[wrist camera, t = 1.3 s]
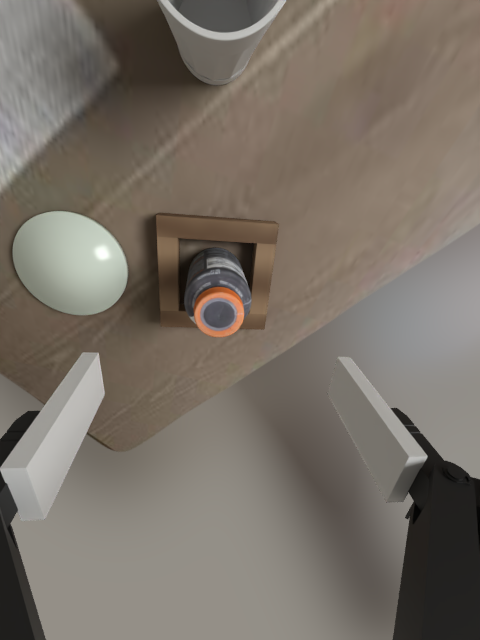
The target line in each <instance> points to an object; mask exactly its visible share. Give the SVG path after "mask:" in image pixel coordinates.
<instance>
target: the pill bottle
mask: <svg viewBox="0 0 480 640" xmlns="http://www.w3.org/2000/svg"><path fill="white" fill-rule="evenodd" d="M251 301H252V300H251V292H250V289H249V286H248V284H247V281H246V278H245V276H244V273H243V270H242V268H241V265H240V263H239V261H238V259H237V258H236V257H235V256H234V255H233V254H232V253H231V252H229V251H227V250H225V249H222V248H209V249H206V250H203V251H202V252H200V253H199V254H197V255H196V256H195V258H194V259H193V260H192V262H191V264H190V268H189V272H188V279H187V284H186V290H185V295H184V305H185V310H186V312H187V314H188V316H189V317H190V319H191V320H192V321H193V322H194V323H195V324H196V325H197V326H198V328H199V329H200V330H201V331H202V332H203V333H205V334H207V335H209V336H212V337H225V336H228V335H231V334H233V333H234V332H235V331H237V330H238V329H239V327H240V326H241V324H242V323H243V320H244V319H245V318H246V316H247V315H248V313H249V311H250V307H251Z"/></svg>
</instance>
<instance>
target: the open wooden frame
mask: <svg viewBox="0 0 480 640" xmlns="http://www.w3.org/2000/svg"><path fill="white" fill-rule="evenodd" d="M156 227H157V251H158V274H159V297H160V321H161V327H195V328H198V326H197V325H196V324H195V323H194V322H193V321H192V320H191V319H190V317H189V316H188V314H187V312H186V310H185V305H184V304H180V238H185V239H200V240H215V241H230V242H245V243H254V248H253V257H252V267H251V276H250V286H249V289H250V292H251V300H252V301H251V307H250V311H249V313H248V315H247V316H246V318H245V319H244V320H243V323H242V324H241V326H240V327H239V329H264V328H265V321H266V314H267V307H268V300H269V292H270V285H271V278H272V271H273V264H274V257H275V249H276V242H277V235H278V228H279V224H278V223H276V222H274V221H261V220H248V219H235V218H222V217H209V216H196V215H183V214H170V213H158V214H157V215H156Z"/></svg>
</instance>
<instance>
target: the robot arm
mask: <svg viewBox="0 0 480 640" xmlns="http://www.w3.org/2000/svg"><path fill="white" fill-rule="evenodd" d="M327 394H328V397H329V398H330V400H331V402H332V404H333V406H334V407H335V409H336V411H337V413H338V415H339V417H340V418H341V420H342V422H343V424H344V426H345V428H346V429H347V431H348V433H349V435H350V437H351V439H352V441H353V442H354V444H355V446H356V448H357V450H358V451H359V453H360V455H361V457H362V459H363V461H364V463H365V464H366V466H367V468H368V470H369V472H370V474H371V475H372V477H373V479H374V481H375V482H376V485H377V486H378V488H379V490H380V492H381V494H382V496H383V497H384V499H385V501H386V503H388V502H403V501H404V500H405V498H406V496H407V494H408V492H409V494H410V495H411V497H412V499H413V500H414V502H413V504H412V506H411V507H410V509H409V511H408V513H407V515H406V517H405V518H406V519H408V518H409V517H410V520H409V527H408V534H407V541H406V548H405V556H404V563H403V570H402V577H401V585H400V591H399V599H398V606H397V613H396V620H395V628H394V635H393V640H480V479H476V478H472V477H470V476H469V474H468V473H467V472H466V471H464V470H463V469H462V468H461V467H459V466H457V465H456V464H454V463H451V462H448V461H444V460H443V459H442V457H441V456H440V455H439V454H438V453H437V451H436V450H435V449H434V448H433V447H432V445H431V444H430V443H429V442H428V441H427V439H426V438H425V437H424V436H423V434H421V433H420V431H419V430H418V428H417V427H416V426H414V424H413V423H412V421H411V420H410V419H409V418H408V417H407V415H405V414H404V413H403V412H401V411H400V410H399V409H397V408H390V407H389V406H388V405H387V404H386V402H385V401H384V400H383V398H382V397H381V396H380V395H379V394H378V392H377V391H376V389H375V388H374V387H373V386H372V384H371V383H370V382H369V381H368V380H367V378H366V377H365V375H364V374H363V373H362V372H361V370H360V369H359V368H358V367H357V365H356V364H355V363H354V361H353V360H352V359H351V358H350V357H337V361H336V365H335V368H334V372H333V375H332V379H331V383H330V386H329V390H328V393H327ZM104 395H105V392H104V385H103V379H102V372H101V366H100V360H99V353H85V352H83V353H82V354H81V356H80V357H79V359H78V360H77V361H76V363H75V364H74V366H73V367H72V368H71V370H70V371H69V372H68V374H67V375H66V377H65V378H64V379H63V381H62V382H61V384H60V385H59V386H58V388H57V389H56V391H55V392H54V393H53V395H52V396H51V398H50V399H49V400H48V402H47V403H46V404H45V406H44V407H43V409H42V410H41V411H28V412H26V413H25V414H23V415H22V416H21V417H19V418H18V419H17V420H16V421H15V422H14V423H13V424H12V425H11V427H10V428H9V429H8V430H7V433H5V434H4V436H3V437H2V438H1V439H0V640H46V639H45V636H44V632H43V629H42V625H41V622H40V619H39V615H38V612H37V609H36V605H35V602H34V599H33V595H32V592H31V589H30V585H29V582H28V579H27V576H26V572H25V569H24V565H23V562H22V559H21V555H20V552H19V549H18V545H17V542H16V539H15V535H14V532H13V529H12V526H11V524H10V523H11V521H12V520H13V518H14V516H15V514H16V512H17V511H18V513H19V516H20V519H21V521H27V520H45V518H46V516H47V514H48V512H49V510H50V508H51V505H52V503H53V501H54V499H55V497H56V495H57V493H58V491H59V489H60V487H61V485H62V483H63V481H64V478H65V476H66V474H67V472H68V470H69V468H70V466H71V464H72V462H73V460H74V458H75V455H76V453H77V451H78V449H79V447H80V445H81V443H82V441H83V438H84V437H85V435H86V433H87V430H88V428H89V426H90V424H91V422H92V420H93V418H94V416H95V414H96V412H97V410H98V407H99V405H100V403H101V401H102V399H103V397H104Z"/></svg>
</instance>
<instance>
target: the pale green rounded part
mask: <svg viewBox="0 0 480 640" xmlns="http://www.w3.org/2000/svg"><path fill="white" fill-rule="evenodd" d="M12 252H13V261H14V266H15V269H16V272H17V274H18V276H19V278H20V279H21V281H22V283H23V284H24V285H25V287H26V288H27V289H28V290H29V291H30V292H31V293H32V294H33V295H34V296H35V297H36V298H37V299H38V300H40V301H41V302H43V303H44V304H46V305H47V306H49V307H51V308H53V309H56V310H58V311H61V312H64V313H68V314H73V315H91V314H96V313H99V312H102V311H104V310H106V309H108V308H110V307H111V306H112V305H113V304H115V303H116V302H117V300H118V299H119V298H120V297H121V295H122V294H123V292H124V290H125V288H126V286H127V282H128V276H129V270H128V262H127V259H126V255H125V253H124V251H123V249H122V247H121V245H120V244H119V242H118V241H117V239H116V238H115V237H114V236H113V235H112V233H111V232H110V231H109V230H107V229H106V228H105V227H104V226H103V225H101V224H100V223H98V222H97V221H95V220H93V219H91V218H90V217H87V216H85V215H82V214H79V213H75V212H70V211H52V212H47V213H43V214H39V215H37V216H35V217H33V218H31V219H30V220H28V221H27V222H26V223H25V224H24V225H22V227H21V228H20V229H19V231H18V232H17V234H16V236H15V239H14V243H13V250H12Z"/></svg>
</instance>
